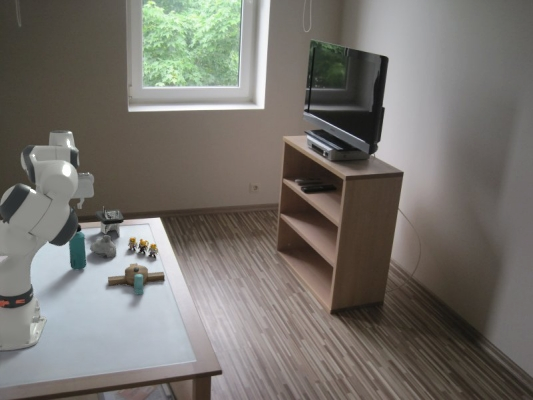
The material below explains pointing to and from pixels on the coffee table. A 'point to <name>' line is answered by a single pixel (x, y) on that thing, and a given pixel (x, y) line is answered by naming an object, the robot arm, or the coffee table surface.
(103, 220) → the black-topped pedestal
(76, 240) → the beverage bottle
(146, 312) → the coffee table surface
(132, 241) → the figurine set
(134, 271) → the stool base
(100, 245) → the grey clay mound
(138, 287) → the teal crank handle
